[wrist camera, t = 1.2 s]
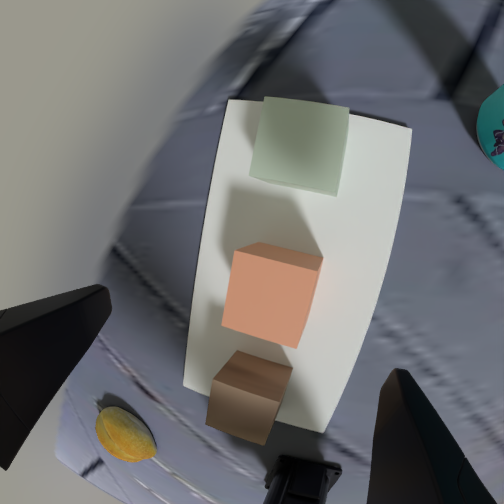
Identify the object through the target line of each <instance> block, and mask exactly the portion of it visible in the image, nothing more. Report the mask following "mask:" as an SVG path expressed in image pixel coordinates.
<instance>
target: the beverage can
mask: <svg viewBox="0 0 504 504" xmlns="http://www.w3.org/2000/svg"><path fill="white" fill-rule="evenodd" d="M476 131H477V138H478V141H479V144H480V147H481V149H482V151H483V152H484V154H485V155H486V157H487V158H488V159H489V160H490V161H491V162H492V163H493V164H494V165H496V166H497V167H499V168H501V169H503V170H504V84H503V85H502V86H501V87H500V88H498V89H497V90H496V91H495V92H494V93H493V94H491V95H490V96H489V97H488V98H487V99H486V100H485V101H484V102H483V103H482V105H481V107H480V110H479V114H478V119H477V125H476Z"/></svg>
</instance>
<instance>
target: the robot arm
mask: <svg viewBox="0 0 504 504" xmlns="http://www.w3.org/2000/svg"><path fill="white" fill-rule="evenodd" d="M111 311H112V305H111V299H110V293H109V290H108V288H107V287H105V286H102V285H100V284H95V285H91V286H88V287H84V288H80V289H76V290H73V291H69V292H66V293H62V294H58V295H55V296H51V297H47V298H44V299H40V300H36V301H33V302H29V303H26V304H22V305H19V306H15V307H11V308H8V309H4V310H0V467H1V468H3V469H4V470H5V471H6V470H7V469H8V468H9V466H10V465H11V463H12V461H13V460H14V458H15V456H16V455H17V453H18V451H19V450H20V448H21V446H22V445H23V443H24V441H25V440H26V438H27V437H28V435H29V433H30V431H31V430H32V429H33V427H34V425H35V424H36V422H37V421H38V419H39V418H40V416H41V415H42V413H43V412H44V410H45V409H46V407H47V406H48V404H49V403H50V401H51V400H52V399H53V397H54V396H55V394H56V393H57V391H58V390H59V389H60V387H61V386H62V384H63V383H64V382H65V380H66V379H67V377H68V376H69V375H70V373H71V372H72V370H73V369H74V368H75V366H76V365H77V364H78V362H79V361H80V360H81V358H82V357H83V356H84V354H85V353H86V352H87V350H88V349H89V347H90V346H91V344H92V343H93V341H94V340H95V338H96V336H97V335H98V333H99V332H100V330H101V328H102V327H103V325H104V324H105V322H106V320H107V319H108V317H109V316H110V314H111ZM341 474H342V469H340V468H336V467H331V466H326V465H321V464H317V463H312V462H308V461H304V460H300V459H296V458H292V457H288V456H285V455H280V456H279V457H278V459H277V461H276V463H275V466H274V468H273V470H272V472H271V474H270V476H269V478H268V480H267V482H266V485H265V488H266V489H268V493H267V495H266V498H265V500H264V503H263V504H325V503H326V498H327V493H328V492H329V490H330V489H331V488H332V486H333V485H334V484H335V483H336V481H337V480H338V478H339V477H340V476H341ZM367 504H497V503H496V501H495V500H494V498H493V497H492V496H491V494H490V493H489V492H488V490H487V489H486V487H485V486H484V484H483V483H482V482H481V480H480V479H479V477H478V476H477V474H476V472H475V471H474V469H473V468H472V466H471V464H470V463H469V461H468V460H467V458H465V455H464V453H463V452H462V450H461V448H460V447H459V445H458V444H457V442H456V441H455V439H454V437H453V436H452V434H451V433H450V431H449V430H448V428H447V427H446V425H445V424H444V422H443V421H442V419H441V418H440V416H439V415H438V413H437V412H436V410H435V409H434V407H433V406H432V404H431V403H430V401H429V400H428V398H427V397H426V396H425V394H424V393H423V391H422V390H421V388H420V387H419V386H418V384H417V383H416V381H415V380H414V378H413V377H412V376H411V374H410V373H409V372H408V371H407V370H405V369H399V368H395V369H393V370H392V371H391V373H390V375H389V376H388V378H387V379H386V381H385V382H384V384H383V386H382V388H381V390H380V396H379V404H378V411H377V418H376V424H375V430H374V437H373V448H372V461H371V471H370V481H369V489H368V497H367Z"/></svg>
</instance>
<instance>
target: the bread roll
mask: <svg viewBox="0 0 504 504" xmlns="http://www.w3.org/2000/svg"><path fill="white" fill-rule="evenodd" d="M95 429H96V433H97V436H98V439H99V441H100V442H101V444H102V445H103V447H104V448H105V449H106V450H107V451H108V452H109V453H110V454H112V455H113V456H115V457H116V458H118V459H121V460H124V461H127V462H138V461H141V460H142V459H149V458H151V457H153V456H154V455H155V454H156V452H157V447H156V444H155V442H154V439H153V437H152V435H151V433H150V431H149V429H148V428H147V427H146V426H145V425H144V424H143V423H142V422H141V421H140V420H139V419H138V418H137V417H135V416H134V415H132V414H131V413H129V412H127V411H125V410H123V409H121V408H119V407H107V408H105V409H103V410H102V411H101V412H100V414H99V415H98V417H97V420H96V427H95Z"/></svg>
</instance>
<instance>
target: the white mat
mask: <svg viewBox="0 0 504 504" xmlns="http://www.w3.org/2000/svg"><path fill="white" fill-rule="evenodd" d="M262 106H263V102H260V101H246V100H228V105H227V109H226V113H225V118H224V123H223V127H222V132H221V137H220V141H219V146H218V151H217V156H216V161H215V166H214V171H213V177H212V182H211V187H210V193H209V198H208V204H207V209H206V215H205V221H204V227H203V233H202V239H201V246H200V252H199V259H198V265H197V272H196V279H195V286H194V294H193V301H192V309H191V317H190V325H189V333H188V342H187V351H186V361H185V371H184V382H183V386H185V387H187V388H189V389H192V390H194V391H196V392H199V393H201V394H204V395H206V396H208V397H210V391H211V385H212V379H213V378H214V377H215V375H216V374H217V373H218V372H219V371H220V370H221V368H222V367H223V366H224V365H225V364H226V363H227V361H228V360H229V359H230V358H231V357H232V355H233V354H234V353H235V352H236V351H237V350H238V351H241V352H244V353H247V354H250V355H253V356H256V357H259V358H263V359H266V360H269V361H272V362H276V363H279V364H282V365H286V366H289V367H292V368H293V370H292V373H291V376H290V379H289V383H288V386H287V389H286V392H285V395H284V398H283V400H282V403H281V406H280V409H279V412H278V414H277V417H276V419H275V420H276V421H280V422H283V423H286V424H290V425H294V426H297V427H301V428H305V429H309V430H313V431H317V432H321V433H324V431H325V429H326V427H327V425H328V423H329V421H330V419H331V416H332V414H333V412H334V410H335V408H336V406H337V404H338V402H339V399H340V397H341V395H342V393H343V390H344V388H345V386H346V383H347V381H348V379H349V376H350V374H351V372H352V369H353V367H354V364H355V362H356V359H357V356H358V354H359V351H360V349H361V346H362V343H363V341H364V338H365V335H366V332H367V329H368V327H369V324H370V321H371V318H372V315H373V312H374V309H375V306H376V302H377V299H378V296H379V293H380V289H381V286H382V283H383V279H384V275H385V272H386V268H387V265H388V261H389V257H390V253H391V249H392V245H393V241H394V236H395V232H396V228H397V223H398V218H399V213H400V208H401V203H402V198H403V192H404V187H405V181H406V174H407V168H408V161H409V153H410V145H411V136H412V129H410V128H406V127H403V126H399V125H395V124H391V123H387V122H383V121H379V120H375V119H371V118H366V117H362V116H357V115H352V114H349V131H348V138H347V144H346V150H345V156H344V162H343V168H342V173H341V178H340V184H339V189H338V194H337V197H333V196H329V195H324V194H320V193H315V192H310V191H305V190H301V189H296V188H291V187H285V186H280V185H275V184H270V183H267V182H264V181H262V180H259V179H256V178H254V177H251V176H249V171H250V166H251V161H252V156H253V151H254V146H255V141H256V136H257V131H258V126H259V121H260V116H261V111H262ZM257 242H261V243H265V244H269V245H274V246H278V247H282V248H286V249H290V250H294V251H298V252H302V253H306V254H310V255H314V256H318V257H322V258H323V263H322V267H321V271H320V275H319V279H318V283H317V287H316V290H315V294H314V298H313V302H312V305H311V309H310V313H309V316H308V320H307V323H306V326H305V328H304V331H303V333H302V336H301V339H300V341H299V344H298V347H297V349H295V348H291V347H288V346H284V345H281V344H277V343H274V342H271V341H267V340H264V339H261V338H258V337H254V336H251V335H248V334H245V333H242V332H239V331H236V330H233V329H230V328H227V327H224V326H221V324H222V318H223V313H224V307H225V301H226V295H227V290H228V284H229V278H230V273H231V267H232V261H233V256H234V250H237V249H240V248H242V247H245V246H248V245H251V244H254V243H257Z"/></svg>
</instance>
